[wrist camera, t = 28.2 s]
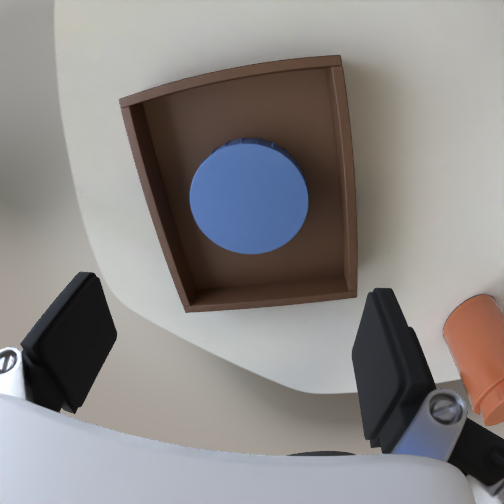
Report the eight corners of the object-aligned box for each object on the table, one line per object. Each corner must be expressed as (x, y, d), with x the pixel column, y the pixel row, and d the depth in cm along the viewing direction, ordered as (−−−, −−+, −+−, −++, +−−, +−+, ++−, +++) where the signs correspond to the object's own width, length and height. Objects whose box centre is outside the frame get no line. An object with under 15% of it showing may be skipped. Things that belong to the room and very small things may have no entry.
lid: (193, 137, 18) (184, 143, 16) (310, 139, 17) (313, 145, 16) (200, 239, 21) (193, 252, 20) (303, 242, 21) (304, 257, 19)
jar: (486, 337, 26) (523, 414, 16) (436, 350, 27) (467, 437, 18) (503, 288, 22) (556, 369, 13) (450, 300, 23) (497, 395, 14)
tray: (350, 274, 23) (357, 297, 20) (193, 290, 25) (185, 313, 22) (332, 58, 15) (340, 54, 13) (137, 95, 17) (118, 99, 15)
